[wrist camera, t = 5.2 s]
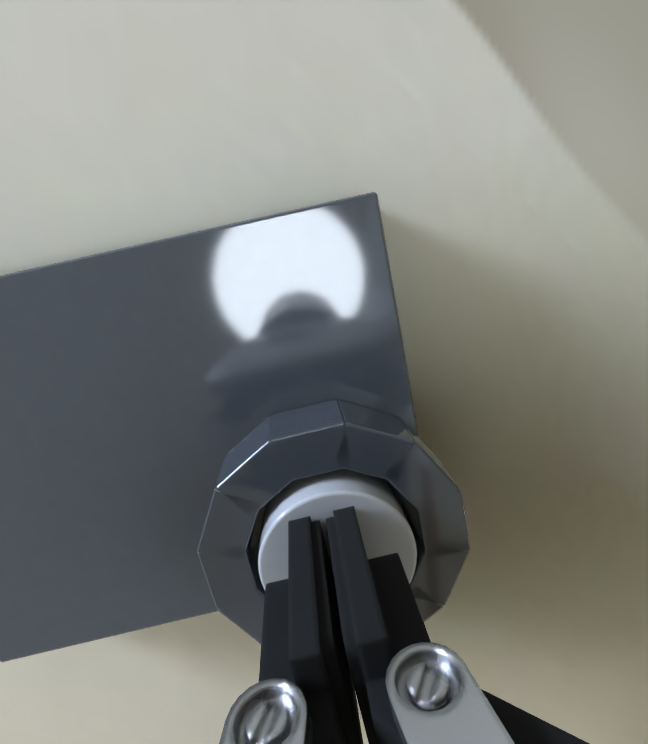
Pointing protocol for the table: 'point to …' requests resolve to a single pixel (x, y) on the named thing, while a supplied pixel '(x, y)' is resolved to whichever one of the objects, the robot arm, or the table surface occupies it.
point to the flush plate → (199, 421)
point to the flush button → (318, 500)
